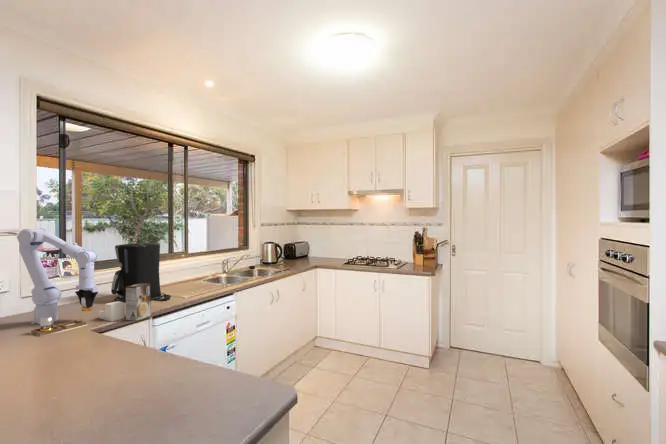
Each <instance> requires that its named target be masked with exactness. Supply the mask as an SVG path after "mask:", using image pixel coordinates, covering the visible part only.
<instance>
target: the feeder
mask: <svg viewBox="0 0 666 444" xmlns="http://www.w3.org/2000/svg"><path fill="white" fill-rule="evenodd" d="M104 305H105V306H104V307H105V309H104V310H99V311H98V315H99V316H98V317H99V319H101V320H104V321H107V322H116V321H120V320H123V319H124V320H125V319H126V302H123V301H113V302H108V303H105V304H104Z"/></svg>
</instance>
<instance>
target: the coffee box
mask: <svg viewBox="0 0 666 444" xmlns="http://www.w3.org/2000/svg"><path fill="white" fill-rule="evenodd" d="M125 289H126V302H125V320H126V321H128V320H129V321H138V320H139V321H140V320H141V319H145V318H147V317H149V316H152V303H151V301H152V300H151V291H150V284H145V283H139V284H135V285H131V286H127V287H125Z"/></svg>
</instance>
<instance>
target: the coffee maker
mask: <svg viewBox="0 0 666 444" xmlns="http://www.w3.org/2000/svg"><path fill="white" fill-rule="evenodd" d="M114 251H115V256H116V260H117V262H118V263H120V265H121V266H120V267H119V268H120V269H119V270H117V271H115V273H114V275H113V279H112V282H111V283H112V284H111V288H110V289H111V294H112V295H117V297H114V298H113V299H112V300H113V301H115V300H116V301H115V302H117V301H120V302H125V303H126V289H125V287H127V286H131V285H135V284H139V283H145V284H150V291H151V301H154V299H155V301H156V302H157V301H164V302H166V301H168V300H169V299H171V298H172V296H171V295H170V294H166V293H165V292H161V283H160V258H161V257H160V254H161V244H160V243H155V242H138V243H124V244H123V243H122V244H117V245H115V246H114Z"/></svg>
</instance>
